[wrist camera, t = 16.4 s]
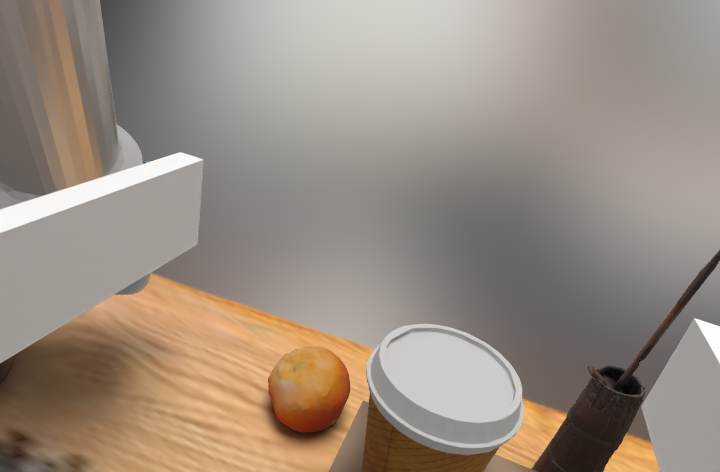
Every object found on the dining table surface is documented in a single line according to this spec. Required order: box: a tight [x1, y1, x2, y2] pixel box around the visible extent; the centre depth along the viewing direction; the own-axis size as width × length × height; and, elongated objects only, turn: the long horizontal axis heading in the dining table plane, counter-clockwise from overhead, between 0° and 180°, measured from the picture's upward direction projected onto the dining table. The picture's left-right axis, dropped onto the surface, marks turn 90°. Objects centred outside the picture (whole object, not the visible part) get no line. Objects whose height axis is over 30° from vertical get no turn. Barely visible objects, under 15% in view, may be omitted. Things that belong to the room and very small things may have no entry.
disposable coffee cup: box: [362, 324, 524, 472], centre depth 32 cm, size 10×10×12 cm
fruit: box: [268, 347, 350, 433], centre depth 49 cm, size 8×8×8 cm
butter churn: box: [531, 250, 720, 472], centre depth 42 cm, size 9×10×28 cm
